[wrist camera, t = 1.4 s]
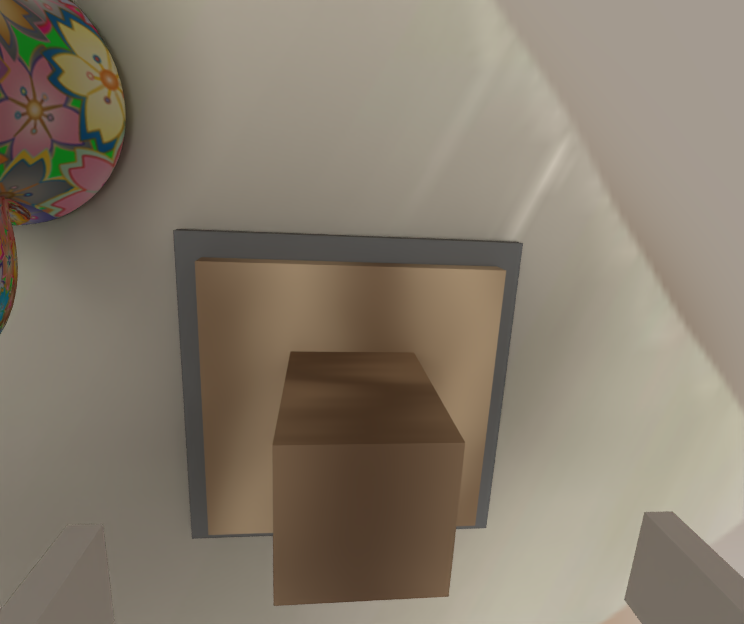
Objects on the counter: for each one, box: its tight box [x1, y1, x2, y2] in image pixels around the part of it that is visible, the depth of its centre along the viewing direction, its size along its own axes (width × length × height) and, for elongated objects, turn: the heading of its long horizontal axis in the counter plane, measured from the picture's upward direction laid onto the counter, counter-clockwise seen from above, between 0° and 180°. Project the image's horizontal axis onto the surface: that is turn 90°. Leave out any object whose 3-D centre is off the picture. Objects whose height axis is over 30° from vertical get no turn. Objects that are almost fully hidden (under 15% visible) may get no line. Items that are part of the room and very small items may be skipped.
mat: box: [173, 229, 523, 539], centre depth 20 cm, size 14×14×1 cm
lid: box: [195, 257, 506, 606], centre depth 16 cm, size 12×12×8 cm
